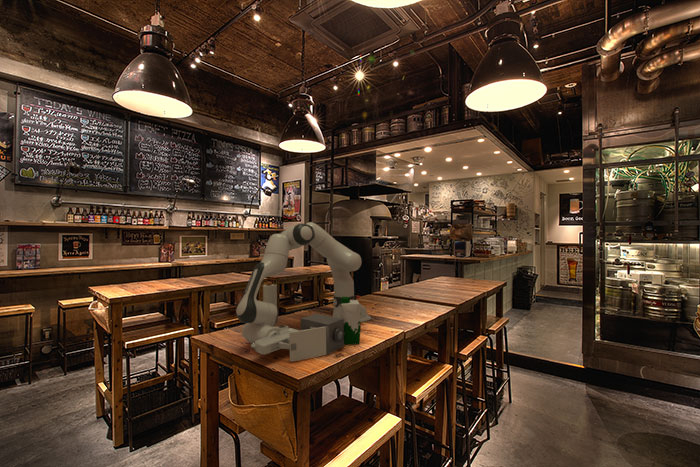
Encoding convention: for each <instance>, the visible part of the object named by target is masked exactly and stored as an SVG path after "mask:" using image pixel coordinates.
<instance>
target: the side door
mask: <svg viewBox="0 0 700 467" xmlns="http://www.w3.org/2000/svg"><path fill="white" fill-rule="evenodd" d="M289 345H290V349H289V362H290V363H291V362H297V361H300V360H301V361H302V360H306V359H312V358H317V357H320V356H325V355H330V354H329V326H326V327H319V328H313V329H307V330H301V329H300V330H299V331H295V332H289Z"/></svg>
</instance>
